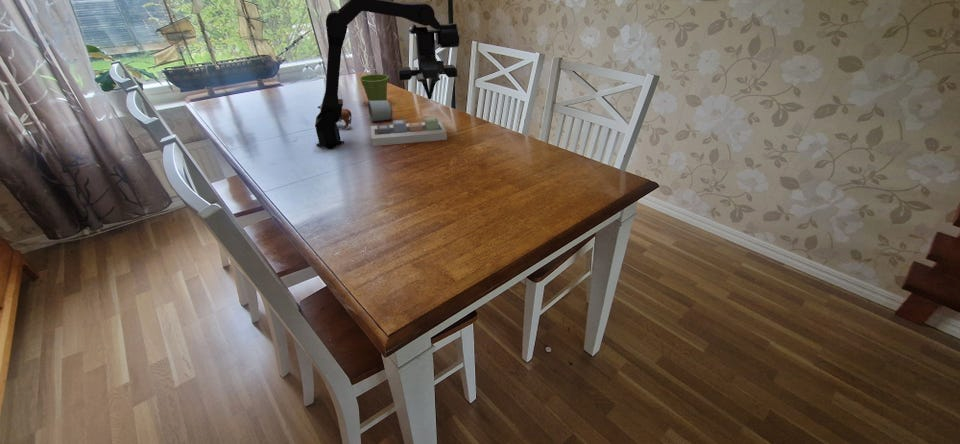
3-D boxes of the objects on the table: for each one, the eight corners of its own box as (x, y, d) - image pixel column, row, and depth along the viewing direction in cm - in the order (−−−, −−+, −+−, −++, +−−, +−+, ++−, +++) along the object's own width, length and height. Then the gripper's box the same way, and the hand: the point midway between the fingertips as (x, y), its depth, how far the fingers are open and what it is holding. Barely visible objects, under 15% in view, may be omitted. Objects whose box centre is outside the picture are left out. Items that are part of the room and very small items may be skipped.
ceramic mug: (394, 121, 145) (391, 101, 140) (373, 124, 142) (369, 103, 137) (387, 113, 153) (385, 94, 148) (367, 116, 150) (364, 96, 145)
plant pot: (368, 100, 167) (364, 73, 161) (394, 100, 167) (391, 74, 160) (360, 108, 157) (355, 80, 151) (388, 109, 157) (384, 81, 151)
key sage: (426, 130, 130) (425, 121, 128) (424, 126, 134) (424, 117, 132) (438, 129, 131) (438, 120, 129) (436, 125, 134) (436, 117, 133)
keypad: (372, 146, 124) (371, 138, 123) (371, 133, 134) (370, 126, 132) (446, 139, 130) (446, 132, 128) (440, 127, 139) (440, 120, 138)
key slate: (394, 133, 128) (393, 124, 126) (393, 128, 131) (392, 120, 129) (406, 132, 129) (405, 123, 127) (405, 127, 132) (404, 119, 130)
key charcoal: (378, 138, 127) (377, 129, 126) (378, 133, 131) (376, 125, 129) (391, 137, 128) (390, 128, 127) (390, 132, 132) (389, 124, 130)
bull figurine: (326, 122, 142) (321, 101, 138) (356, 127, 139) (352, 105, 134) (318, 126, 139) (313, 104, 134) (349, 131, 135) (344, 108, 131)
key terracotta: (411, 135, 130) (410, 126, 128) (409, 131, 133) (408, 122, 131) (423, 134, 131) (422, 125, 129) (421, 130, 134) (420, 121, 132)
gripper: (398, 55, 109) (404, 108, 118) (460, 52, 113) (461, 104, 122) (395, 48, 118) (400, 98, 127) (453, 46, 122) (454, 94, 131)
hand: (429, 98), depth 127 cm, fingers closed
